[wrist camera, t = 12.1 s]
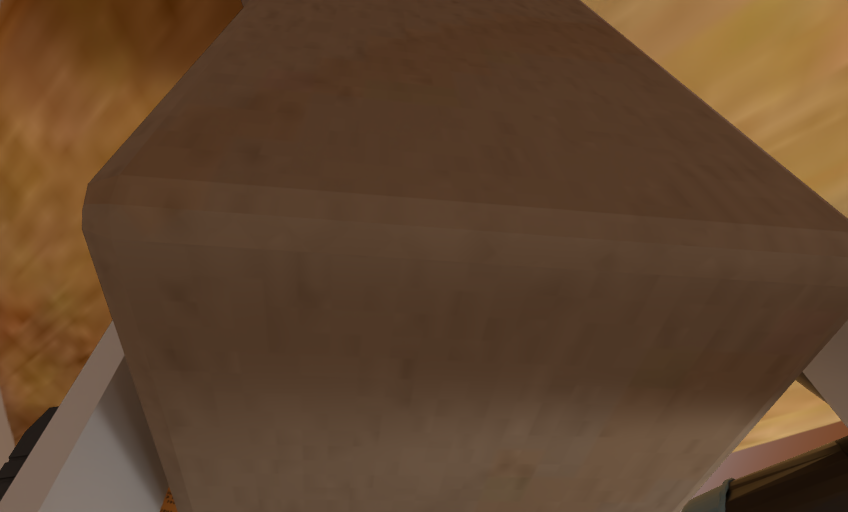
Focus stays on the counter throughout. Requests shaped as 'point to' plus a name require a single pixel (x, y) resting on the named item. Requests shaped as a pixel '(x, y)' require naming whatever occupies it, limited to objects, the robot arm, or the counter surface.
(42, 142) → the counter surface
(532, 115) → the wooden block
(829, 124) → the counter surface
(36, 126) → the counter surface
